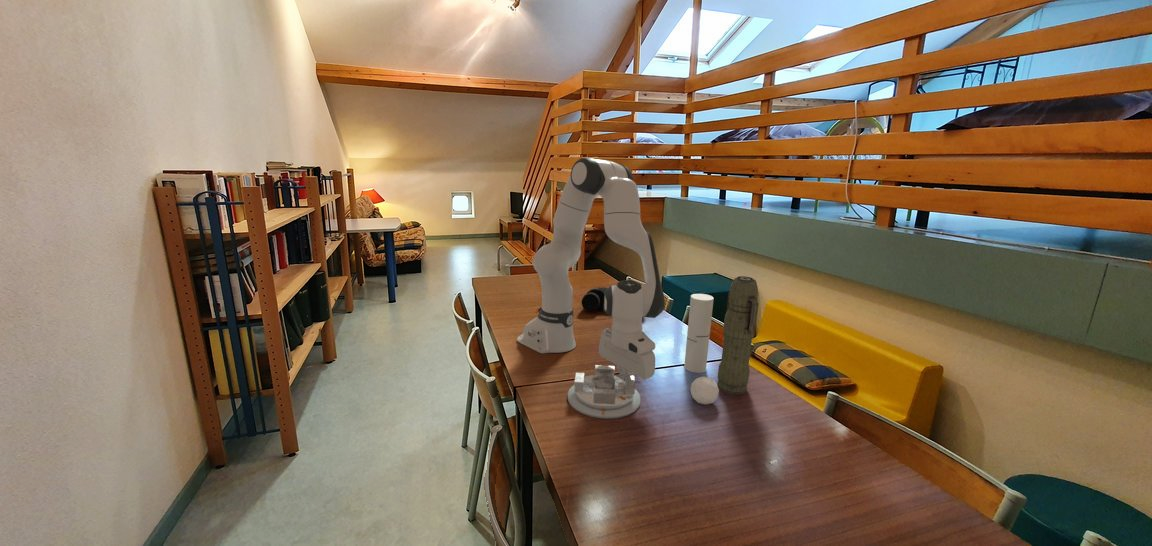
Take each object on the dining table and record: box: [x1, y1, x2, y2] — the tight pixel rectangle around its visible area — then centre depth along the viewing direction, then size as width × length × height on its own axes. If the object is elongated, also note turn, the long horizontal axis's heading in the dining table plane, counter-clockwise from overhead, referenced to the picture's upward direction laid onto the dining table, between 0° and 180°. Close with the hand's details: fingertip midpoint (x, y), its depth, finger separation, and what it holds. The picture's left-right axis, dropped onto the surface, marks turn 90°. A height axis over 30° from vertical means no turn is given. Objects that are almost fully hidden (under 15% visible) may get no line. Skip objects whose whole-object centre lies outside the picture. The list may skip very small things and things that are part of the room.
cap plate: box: [567, 384, 641, 420], centre depth 133 cm, size 21×21×1 cm
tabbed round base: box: [573, 364, 636, 410], centre depth 132 cm, size 17×17×5 cm
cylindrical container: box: [683, 293, 714, 374], centre depth 151 cm, size 7×7×25 cm
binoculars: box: [581, 286, 609, 312], centre depth 210 cm, size 29×20×10 cm
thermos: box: [716, 275, 759, 395], centre depth 137 cm, size 9×12×35 cm
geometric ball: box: [690, 375, 720, 405], centre depth 131 cm, size 8×8×8 cm
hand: (624, 380), depth 136 cm, fingers closed
